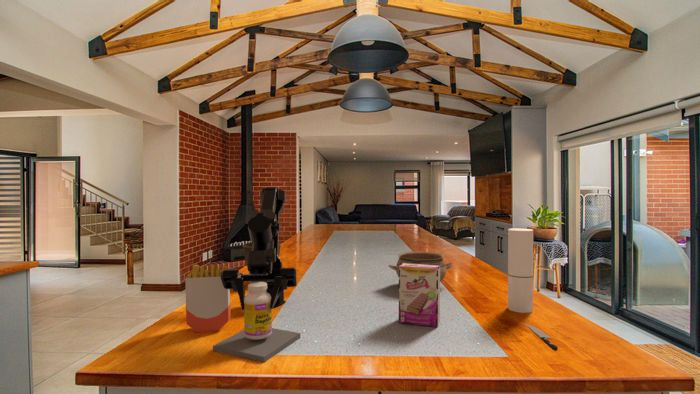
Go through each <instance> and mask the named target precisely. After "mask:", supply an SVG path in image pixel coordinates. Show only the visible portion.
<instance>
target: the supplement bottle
mask: <svg viewBox="0 0 700 394" xmlns="http://www.w3.org/2000/svg"><path fill="white" fill-rule="evenodd" d="M266 290H267V283H266V282H250V283H248V284H247V291H248V293H247V294H245V298H244V310H243V317H244V318H243V319H244V321H243V322H244V325H243V326H244V329H243V330H245V337H246V338H248V339H252V340H259V339H264V338H266V337H268V336H270V335H271V333H272V328H273V325H272V324H273V322H272V321H273V319H272V316H273V315H272V313H273V312H272V310H273V309H271V295H270V294H269V293H267V292H266Z"/></svg>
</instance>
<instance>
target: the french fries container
mask: <svg viewBox="0 0 700 394" xmlns="http://www.w3.org/2000/svg"><path fill="white" fill-rule="evenodd" d="M210 267H211V268H210V274H209V269H205V264H201V266H200V265H199V264H193V265H192V272H191V271H190V272H189V273H188V274H187V276H186V277H185V318H186V319H185V323H186V325H187V326H188V327H190V328H191V329H192V330H193V331H195V332H196V333H206V332H207V333H208V332H210V333H211V332H220V330H221V329H222V328H223V327H224V326H225V325H227V323H228V322H229V321H230V319H231V316H232V315H231V293H230V292H231V291H230V290H231V289H225V288H224V286H223V283H222V280H221V273H222V272H223V271H224V270H225V269H228V265H223V266H222V269H221V267H216V264H211V265H210Z"/></svg>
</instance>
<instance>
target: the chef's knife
mask: <svg viewBox="0 0 700 394" xmlns="http://www.w3.org/2000/svg"><path fill="white" fill-rule="evenodd" d="M524 325H525V326H526V327H527V328H529V330H530V331H532V332H533V333H534V334H535V335H536V336H537V337H538V338H540V339H541V340H542V341H543V342H544V343H546V344H547V346H549V347H550V348H551V350H555V351H557V350H558V349H559V348H558V346H557V345H556V344H553V343H552V342H551V341H550V340H551V339H552V337H551V336H549V335H548V334H546V333H545V332H543V331H542V330H541V329H539V328H537V327H536V326H533V325H532V324H531V325H530V324H528V323H527V322H525V323H524ZM549 339H550V340H549Z"/></svg>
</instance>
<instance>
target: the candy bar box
mask: <svg viewBox="0 0 700 394" xmlns="http://www.w3.org/2000/svg"><path fill="white" fill-rule="evenodd" d="M440 303H441V282H440V266H436V265H422V264H408V263H402V264H401V265H400V266H399V277H398V323H399V324H406V325H413V326H414V325H415V326H422V327H423V326H424V327H431V328H438V326H439V324H440V322H441V321H440V320H441V319H440V318H441V316H440V315H441V313H440V312H441V308H440V307H441V304H440Z"/></svg>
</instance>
